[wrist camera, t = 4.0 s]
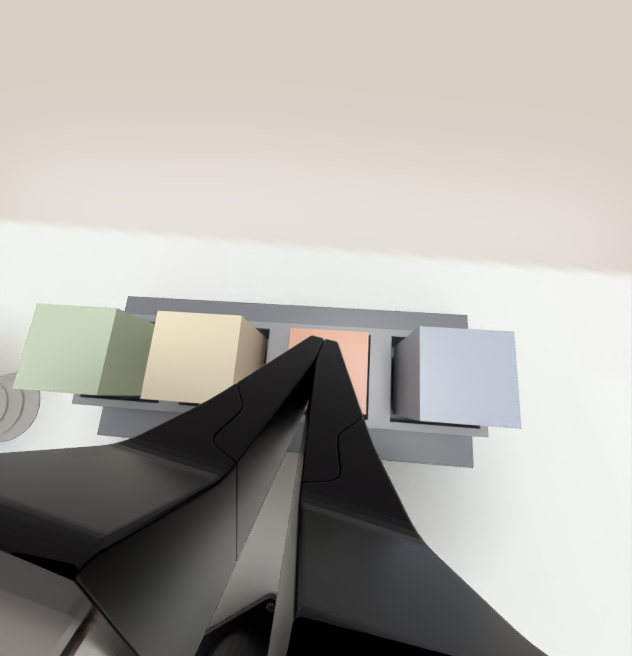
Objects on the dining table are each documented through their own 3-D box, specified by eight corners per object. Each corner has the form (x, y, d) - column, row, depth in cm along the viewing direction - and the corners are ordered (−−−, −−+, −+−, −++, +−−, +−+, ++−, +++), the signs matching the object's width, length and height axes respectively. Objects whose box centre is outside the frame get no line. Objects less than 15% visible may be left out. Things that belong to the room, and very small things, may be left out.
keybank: (112, 432, 22) (50, 442, 17) (140, 302, 24) (92, 278, 19) (463, 462, 20) (504, 483, 15) (458, 320, 23) (493, 299, 18)
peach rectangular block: (295, 405, 20) (282, 407, 14) (300, 345, 21) (290, 327, 15) (356, 409, 20) (365, 414, 14) (358, 349, 20) (368, 332, 15)
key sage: (103, 391, 19) (12, 388, 13) (117, 329, 20) (37, 303, 14) (164, 395, 19) (96, 395, 13) (175, 332, 19) (116, 308, 14)
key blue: (393, 413, 18) (420, 420, 12) (394, 346, 19) (419, 326, 13) (462, 419, 17) (521, 428, 12) (460, 350, 18) (514, 331, 13)
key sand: (195, 398, 18) (140, 398, 13) (205, 334, 19) (157, 310, 14) (259, 403, 18) (229, 405, 13) (266, 338, 19) (241, 315, 14)
